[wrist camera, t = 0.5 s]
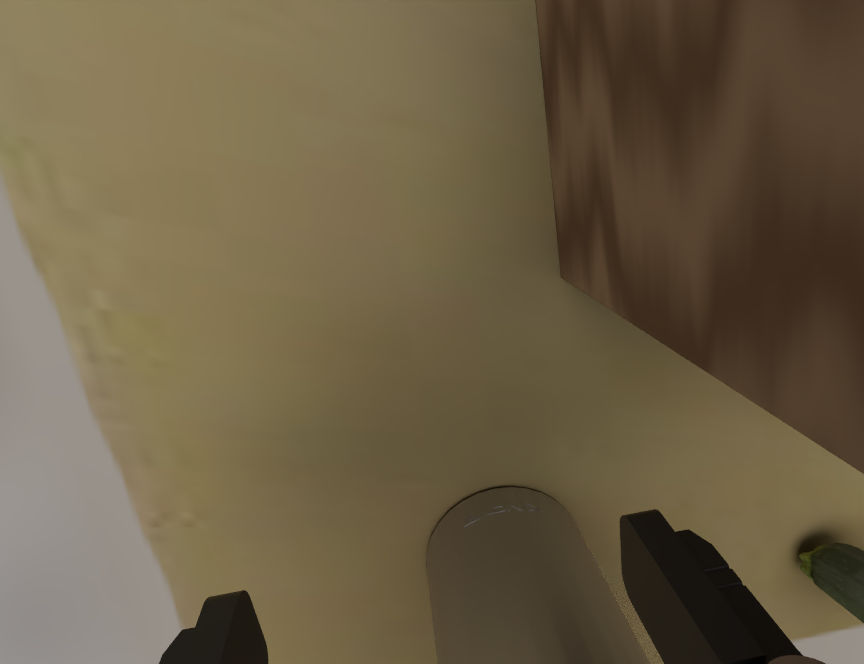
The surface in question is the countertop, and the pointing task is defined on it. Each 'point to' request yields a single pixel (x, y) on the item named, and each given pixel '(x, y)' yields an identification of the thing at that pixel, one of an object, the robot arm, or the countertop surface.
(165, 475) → the countertop surface
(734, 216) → the pedestal
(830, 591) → the vegetable
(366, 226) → the countertop surface
